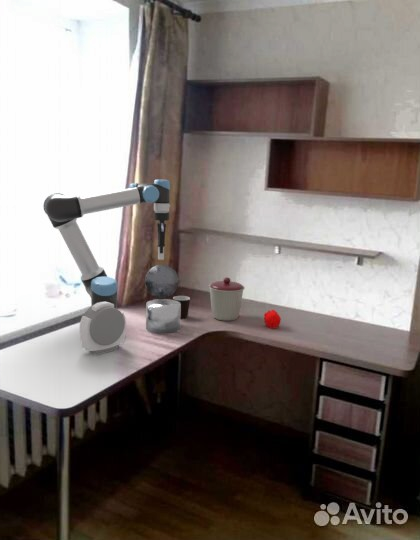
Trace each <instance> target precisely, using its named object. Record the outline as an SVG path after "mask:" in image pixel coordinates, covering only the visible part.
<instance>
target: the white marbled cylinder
mask: <svg viewBox="0 0 420 540" xmlns="http://www.w3.org/2000/svg"><path fill="white" fill-rule="evenodd" d="M145 306H146V307H145V312H146V313H145V316H146V317H145V329H146V331H147V332H149V333H153V334H158V335H168V334H174V333H177V332H179V331H180V330H181V319H180V316H181V303H180V302H178V301H175V300H173V299H171V298H159V299H158V298H154V299H152V300H149V301H147V302H146V304H145Z"/></svg>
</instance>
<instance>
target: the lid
mask: <svg viewBox="0 0 420 540" xmlns="http://www.w3.org/2000/svg"><path fill="white" fill-rule="evenodd" d="M179 281H180V280H179V275H178V273H177V272H176V270H175V269H174V268H173V267H171V266H169V265H165V264H157V265H154V266H153V267H151V268H150V269H149V270H148V271H147V273H146V275H145V278H144V284H145V288H146V290H147V292H149V294H151V295H152V296H153V297H155V298H157V299H158V298H159V299H167V298H169V297H171V296H172V295H173V294H175V292H176V291H177V289H178V286H179V283H180V282H179Z"/></svg>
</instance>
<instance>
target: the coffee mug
mask: <svg viewBox="0 0 420 540" xmlns="http://www.w3.org/2000/svg"><path fill="white" fill-rule="evenodd" d="M172 300H175V301H178V302H180V303H181V316H180V320H186V319H188V315H189V309H190V302H191V298H190V297H189V296H186V295H177V296H173V297H172Z"/></svg>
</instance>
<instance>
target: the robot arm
mask: <svg viewBox="0 0 420 540" xmlns="http://www.w3.org/2000/svg"><path fill="white" fill-rule="evenodd" d="M170 196H171V184H170V181H169V180H168V179H154V182H153V183H138V182H136V183H130V184H129V187H128V188H125V189H120V190H119V189H118V190H113V191H107V192H103V193H102V192H101V193H96V194H90V195H85V196H79V195H77V194H76V195H69V196H68V195H65V194H62V193H60V192H58V193H52V194H50V195H48V196H47V197H46V198H45V200H44V202H43V211H44V213H45V214H46V215H47V217H48V219H49V221H50V223H51V224H52V226H53V228H54V229H56V230H58V231H59V233H60V235H61V236H62V238H63V240H64V243H65V245H66V246H67V248H68V251H69V253H70V254H71V256H72V258H73V260H74V262H75V264H76V265H77V267H78V269H79V271H80V273H81V276H80V280H81V282H82V285H83V286H84V288H85V291H86V293H87V294H88V295H89V297H90V302H91V303H90V304H91V305H90V307H91V306H93V305H94V304H96V303H99V302H105V301H106V302H109V303H112V304H114V308H116V309H118V290H119V289H118V288H119V287H118V282H117V279H115V278H113V277H110V276H108V275H107V273H106V271H105V269H104V268H103V267H101V266H99V264H98V262H97V260H96V258H95V256H94V254H93V253H92V250H91V248H90V246H89V244H88V243H87V241H86V239H85V236H84V235H83V232H82V230H81V229H80V227H79V224H78V223H77V220H78V219H79V218H80V219H81V218H83V216H84V215H87V214H93V213H97V212H98V213H99V212H103V211H109V210H113V209H114V210H115V209H119V208H124V207H128V206H133V205H139V204H144V203H145V204H146V203H149V204H150V203H153V211H154V212H153V220H155V221H158V223H156V227H157V248H158V250H157V252H158V253H157V259H158V261H163V260H165V246H166V244H165V239H166V237H165V236H166V228H167V223H165V221H169V220H170V208H171V206H172V205H170V199H171V197H170Z"/></svg>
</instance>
